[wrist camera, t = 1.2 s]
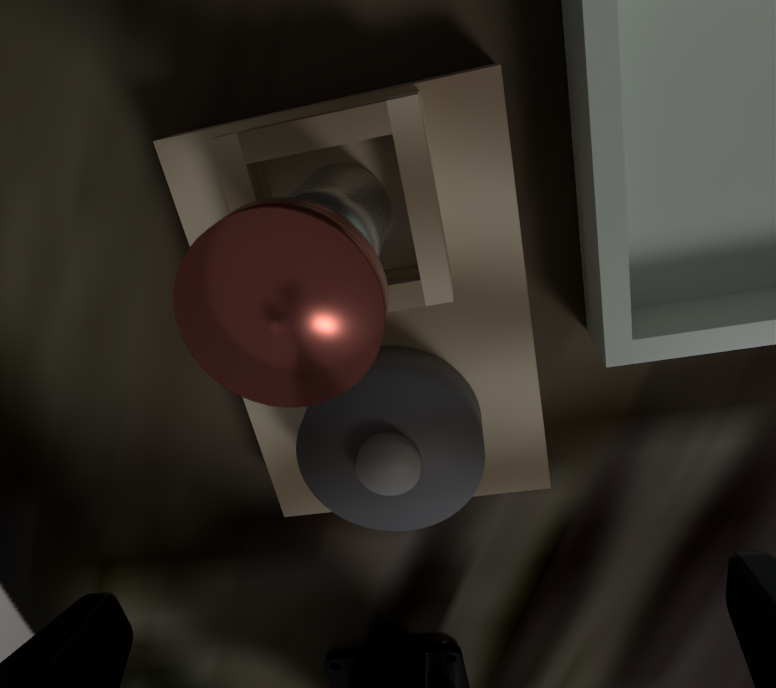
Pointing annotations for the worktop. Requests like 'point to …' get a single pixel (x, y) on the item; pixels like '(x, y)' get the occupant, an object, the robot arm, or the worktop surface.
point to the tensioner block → (399, 299)
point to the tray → (674, 173)
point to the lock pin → (290, 290)
